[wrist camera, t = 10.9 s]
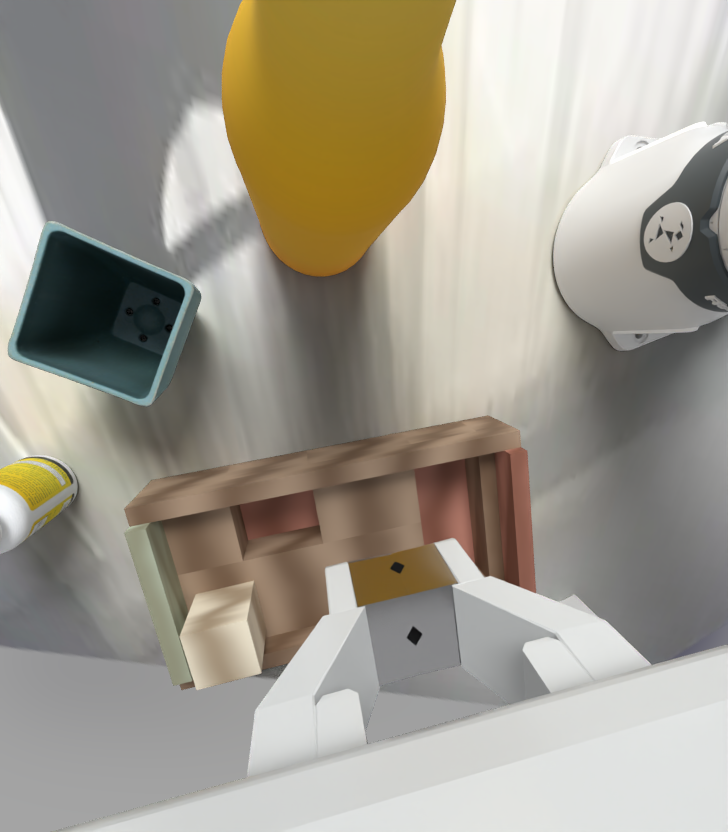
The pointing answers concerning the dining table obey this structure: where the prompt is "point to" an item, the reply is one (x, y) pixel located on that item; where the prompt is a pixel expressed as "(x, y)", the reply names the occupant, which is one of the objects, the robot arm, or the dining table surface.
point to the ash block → (224, 635)
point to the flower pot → (102, 317)
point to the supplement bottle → (32, 496)
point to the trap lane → (327, 524)
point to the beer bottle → (333, 118)
